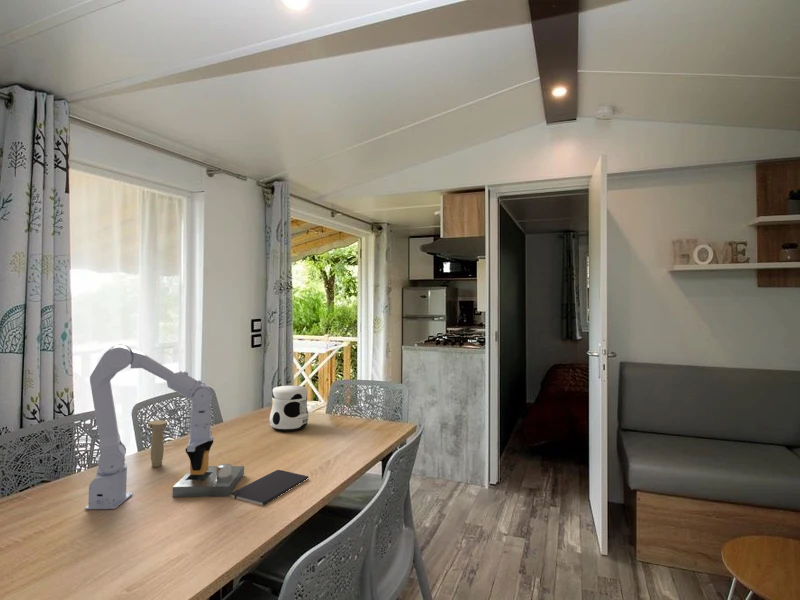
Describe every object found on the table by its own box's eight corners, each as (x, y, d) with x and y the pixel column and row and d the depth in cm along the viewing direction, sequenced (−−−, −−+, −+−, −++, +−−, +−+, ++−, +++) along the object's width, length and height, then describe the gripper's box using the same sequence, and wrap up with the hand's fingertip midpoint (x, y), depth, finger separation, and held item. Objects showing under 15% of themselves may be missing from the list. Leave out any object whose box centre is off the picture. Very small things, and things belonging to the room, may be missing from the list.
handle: (156, 469, 148) (157, 425, 148) (144, 466, 151) (145, 422, 151) (169, 465, 153) (170, 421, 153) (156, 461, 155) (157, 419, 155)
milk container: (269, 424, 206) (269, 385, 206) (306, 421, 211) (307, 384, 211) (269, 434, 189) (270, 393, 190) (310, 432, 195) (311, 391, 195)
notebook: (262, 508, 123) (308, 481, 143) (262, 502, 123) (308, 476, 143) (229, 498, 129) (277, 474, 148) (229, 493, 129) (277, 469, 148)
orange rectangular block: (203, 474, 134) (203, 454, 134) (190, 474, 134) (190, 455, 134) (208, 469, 138) (208, 450, 138) (195, 469, 138) (195, 450, 138)
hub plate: (228, 496, 129) (229, 476, 129) (172, 497, 128) (172, 476, 128) (243, 475, 145) (244, 457, 145) (194, 475, 144) (194, 457, 144)
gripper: (205, 430, 129) (203, 476, 129) (221, 417, 144) (220, 458, 144) (180, 430, 129) (179, 476, 129) (199, 417, 143) (198, 459, 143)
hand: (199, 467), depth 136 cm, fingers closed on orange rectangular block, 4 cm apart
